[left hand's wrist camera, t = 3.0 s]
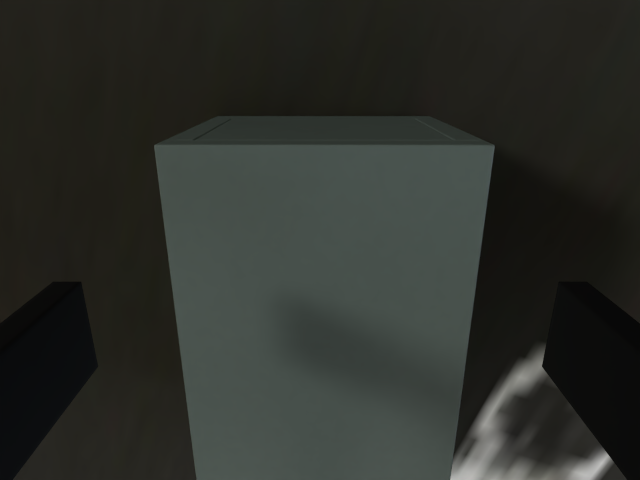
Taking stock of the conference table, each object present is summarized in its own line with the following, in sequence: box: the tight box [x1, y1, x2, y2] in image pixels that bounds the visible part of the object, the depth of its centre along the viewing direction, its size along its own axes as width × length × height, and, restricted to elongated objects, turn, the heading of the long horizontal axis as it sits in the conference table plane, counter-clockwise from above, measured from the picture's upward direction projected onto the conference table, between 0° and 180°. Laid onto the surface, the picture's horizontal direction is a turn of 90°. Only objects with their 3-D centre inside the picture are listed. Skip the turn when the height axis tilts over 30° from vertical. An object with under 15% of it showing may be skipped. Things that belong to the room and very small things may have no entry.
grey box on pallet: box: [154, 116, 495, 480], centre depth 23 cm, size 17×11×10 cm, turn 0°
